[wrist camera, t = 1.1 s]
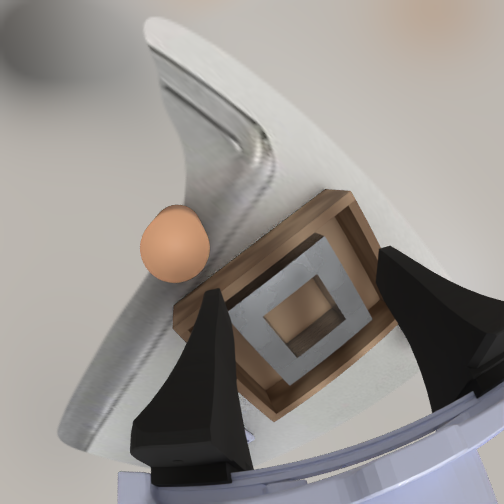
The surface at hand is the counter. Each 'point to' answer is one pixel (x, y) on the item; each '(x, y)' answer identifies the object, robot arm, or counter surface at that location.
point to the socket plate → (282, 286)
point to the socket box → (299, 300)
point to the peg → (175, 245)
